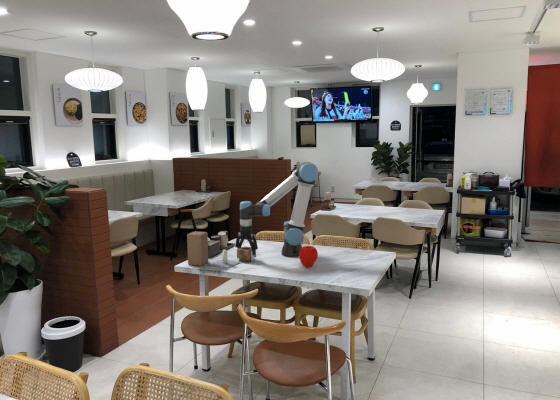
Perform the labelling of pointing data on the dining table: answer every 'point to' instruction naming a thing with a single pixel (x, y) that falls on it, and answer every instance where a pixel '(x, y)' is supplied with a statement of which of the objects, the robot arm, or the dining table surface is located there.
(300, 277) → the dining table surface
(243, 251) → the collar
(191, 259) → the wooden block
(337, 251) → the dining table surface
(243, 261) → the stand
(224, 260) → the hub
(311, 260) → the apple
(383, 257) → the dining table surface
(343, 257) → the dining table surface
